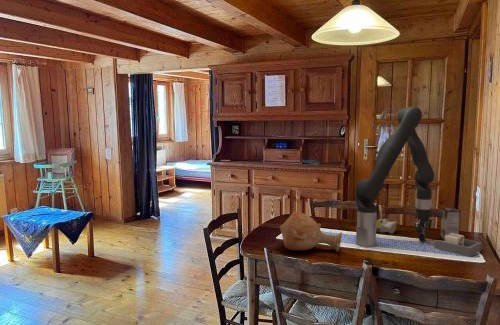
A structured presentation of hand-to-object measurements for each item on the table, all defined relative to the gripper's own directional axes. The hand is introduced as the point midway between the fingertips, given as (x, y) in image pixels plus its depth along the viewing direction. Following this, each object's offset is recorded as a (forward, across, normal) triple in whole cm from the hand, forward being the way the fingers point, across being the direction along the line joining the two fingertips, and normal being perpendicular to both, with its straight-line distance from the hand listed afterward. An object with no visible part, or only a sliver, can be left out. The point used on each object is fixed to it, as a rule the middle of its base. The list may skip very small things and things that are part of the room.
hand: (422, 239), depth 190 cm
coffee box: (+1, -14, +7) cm, 16 cm away
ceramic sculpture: (+1, +1, -23) cm, 23 cm away
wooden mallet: (0, 0, +9) cm, 9 cm away
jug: (+1, +55, -28) cm, 61 cm away
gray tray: (+1, 0, +17) cm, 17 cm away
